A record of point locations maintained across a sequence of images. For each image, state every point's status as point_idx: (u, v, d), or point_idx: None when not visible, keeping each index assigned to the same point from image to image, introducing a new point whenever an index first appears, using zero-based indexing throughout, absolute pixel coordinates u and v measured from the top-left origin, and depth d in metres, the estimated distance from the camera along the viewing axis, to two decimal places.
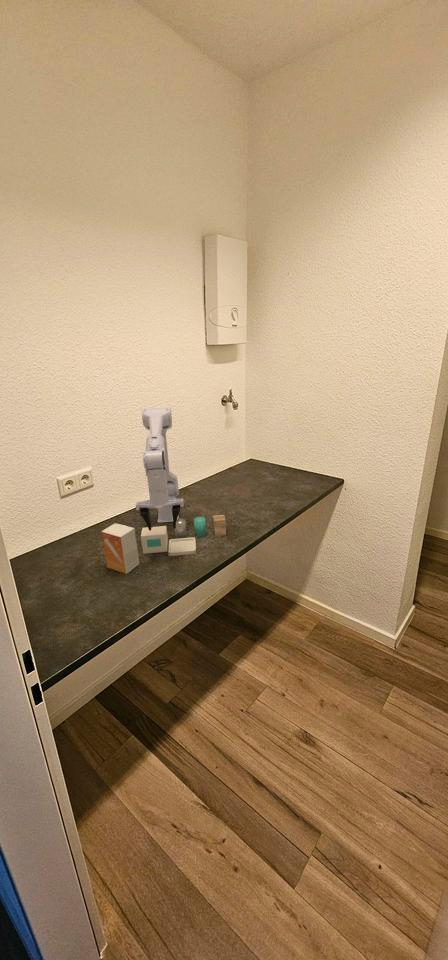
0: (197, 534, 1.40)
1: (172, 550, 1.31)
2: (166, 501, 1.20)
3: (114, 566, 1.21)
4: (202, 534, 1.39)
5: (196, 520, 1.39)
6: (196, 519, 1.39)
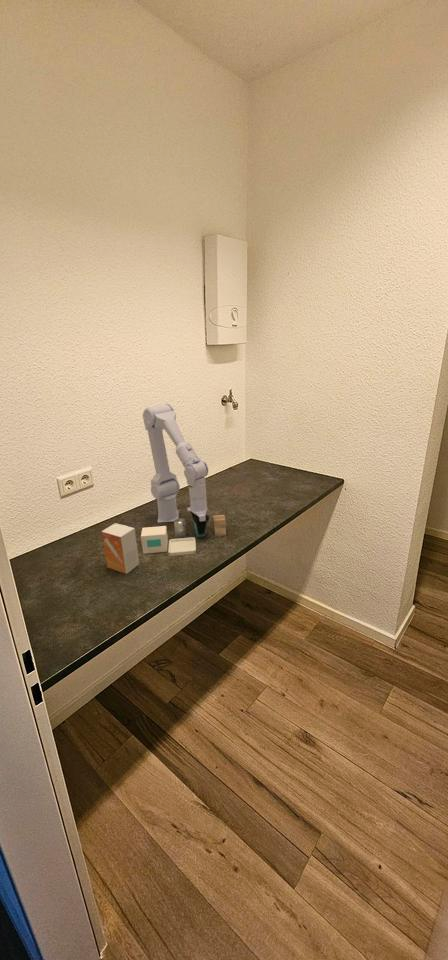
0: (197, 534, 1.40)
1: (172, 550, 1.31)
2: (194, 509, 1.35)
3: (114, 566, 1.21)
4: (202, 534, 1.39)
5: None
6: None
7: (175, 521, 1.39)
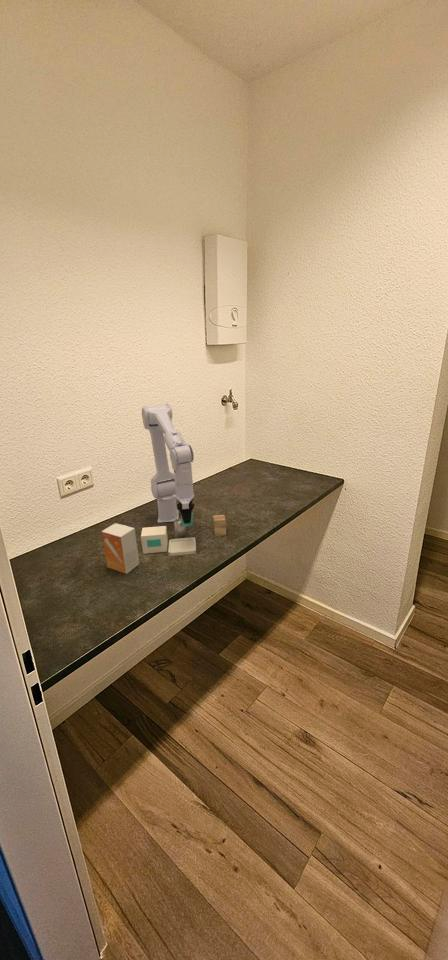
0: (183, 523, 1.31)
1: (172, 550, 1.31)
2: (179, 495, 1.27)
3: (114, 566, 1.21)
4: (189, 523, 1.31)
5: None
6: None
7: (175, 521, 1.39)
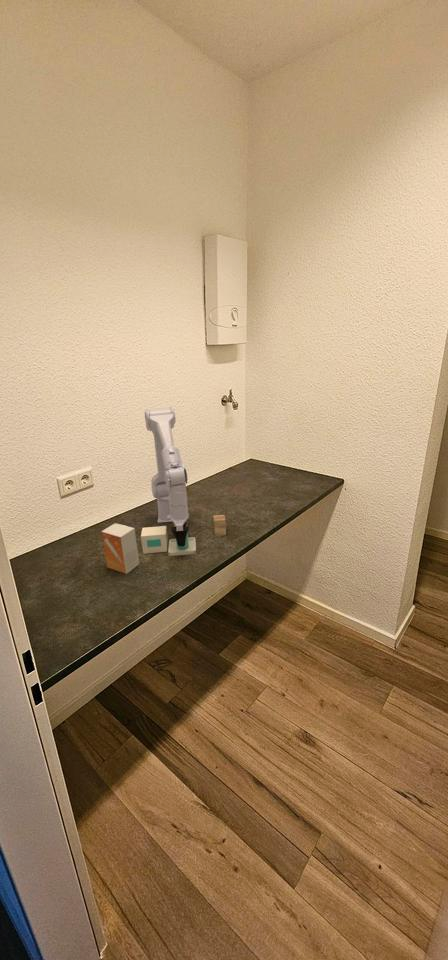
0: (178, 547, 1.31)
1: (172, 550, 1.31)
2: (173, 517, 1.26)
3: (114, 566, 1.21)
4: (184, 547, 1.31)
5: None
6: None
7: None
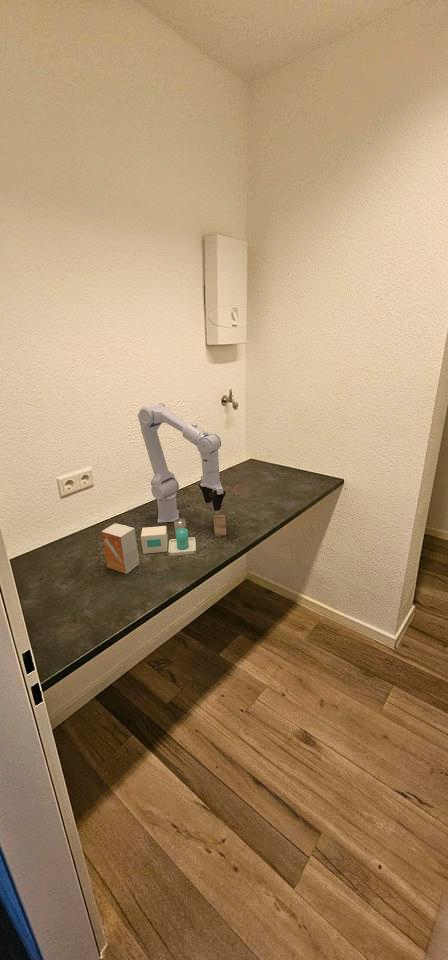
0: (178, 546, 1.31)
1: (172, 550, 1.31)
2: (209, 483, 1.34)
3: (114, 566, 1.21)
4: (184, 547, 1.31)
5: (178, 531, 1.30)
6: (178, 530, 1.31)
7: (175, 521, 1.39)
